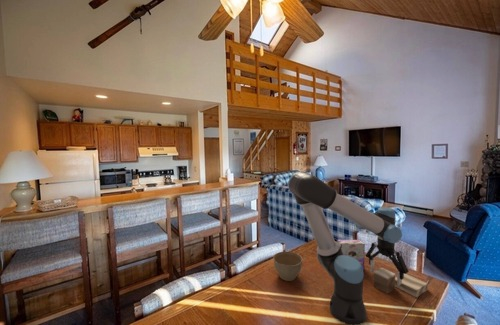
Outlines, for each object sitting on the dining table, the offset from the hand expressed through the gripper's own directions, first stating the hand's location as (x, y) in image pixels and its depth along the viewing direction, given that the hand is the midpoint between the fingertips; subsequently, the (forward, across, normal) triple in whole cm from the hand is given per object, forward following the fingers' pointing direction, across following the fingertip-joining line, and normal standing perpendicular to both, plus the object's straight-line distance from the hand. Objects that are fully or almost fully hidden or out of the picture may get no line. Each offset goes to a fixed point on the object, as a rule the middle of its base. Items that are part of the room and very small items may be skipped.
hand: (385, 277), depth 116 cm
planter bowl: (+5, +34, +36) cm, 50 cm away
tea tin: (+5, 0, 0) cm, 5 cm away
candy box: (+6, +21, -2) cm, 22 cm away
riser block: (+6, -7, -10) cm, 14 cm away
